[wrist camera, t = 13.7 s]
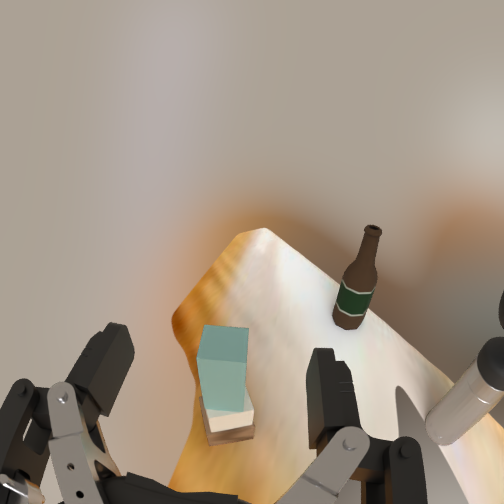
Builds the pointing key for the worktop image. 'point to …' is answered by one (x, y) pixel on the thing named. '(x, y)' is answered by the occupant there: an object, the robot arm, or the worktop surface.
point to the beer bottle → (358, 283)
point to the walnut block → (226, 431)
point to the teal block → (223, 367)
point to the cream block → (231, 417)
